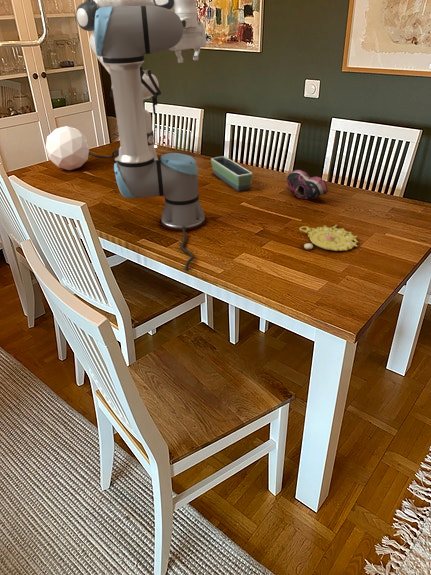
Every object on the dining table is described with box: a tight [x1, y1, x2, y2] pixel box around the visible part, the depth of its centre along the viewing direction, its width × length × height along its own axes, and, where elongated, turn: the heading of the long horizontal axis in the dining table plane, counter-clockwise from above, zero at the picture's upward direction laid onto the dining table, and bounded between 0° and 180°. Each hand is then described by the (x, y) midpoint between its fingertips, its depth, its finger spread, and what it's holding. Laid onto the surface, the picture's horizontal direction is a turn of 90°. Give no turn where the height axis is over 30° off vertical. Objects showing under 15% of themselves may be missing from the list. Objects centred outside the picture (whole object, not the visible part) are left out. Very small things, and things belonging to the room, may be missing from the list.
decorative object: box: [299, 224, 359, 252], centre depth 141 cm, size 21×2×20 cm
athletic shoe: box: [284, 169, 328, 201], centre depth 172 cm, size 11×22×12 cm
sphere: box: [44, 125, 90, 171], centre depth 207 cm, size 19×20×20 cm
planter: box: [210, 155, 254, 192], centre depth 188 cm, size 28×7×7 cm, turn 24°
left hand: (188, 61), depth 181 cm, fingers open, 8 cm apart
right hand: (137, 114), depth 180 cm, fingers open, 13 cm apart
